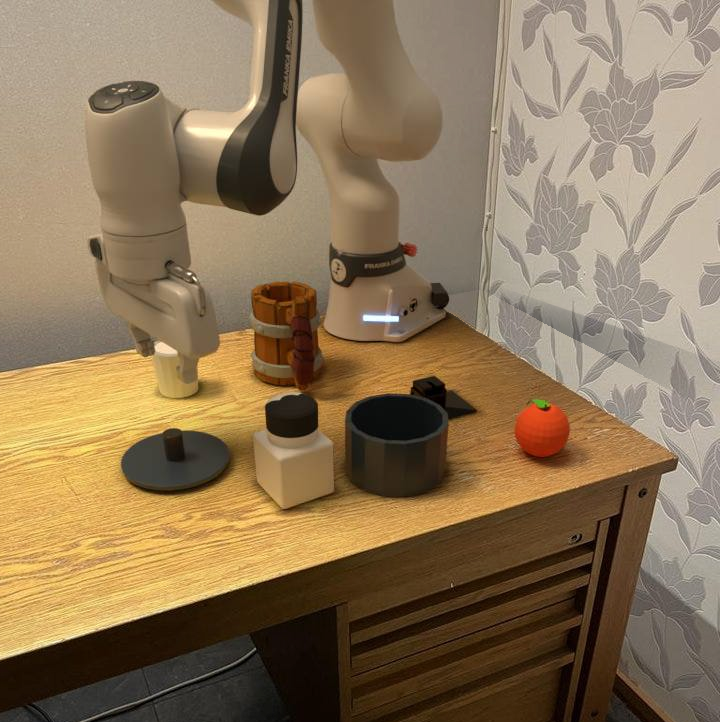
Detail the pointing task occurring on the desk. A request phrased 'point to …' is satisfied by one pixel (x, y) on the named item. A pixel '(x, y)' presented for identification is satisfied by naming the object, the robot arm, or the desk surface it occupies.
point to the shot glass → (170, 372)
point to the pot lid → (175, 460)
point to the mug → (286, 334)
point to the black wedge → (442, 397)
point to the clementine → (542, 429)
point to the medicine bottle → (293, 451)
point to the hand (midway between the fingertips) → (166, 367)
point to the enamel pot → (396, 444)
